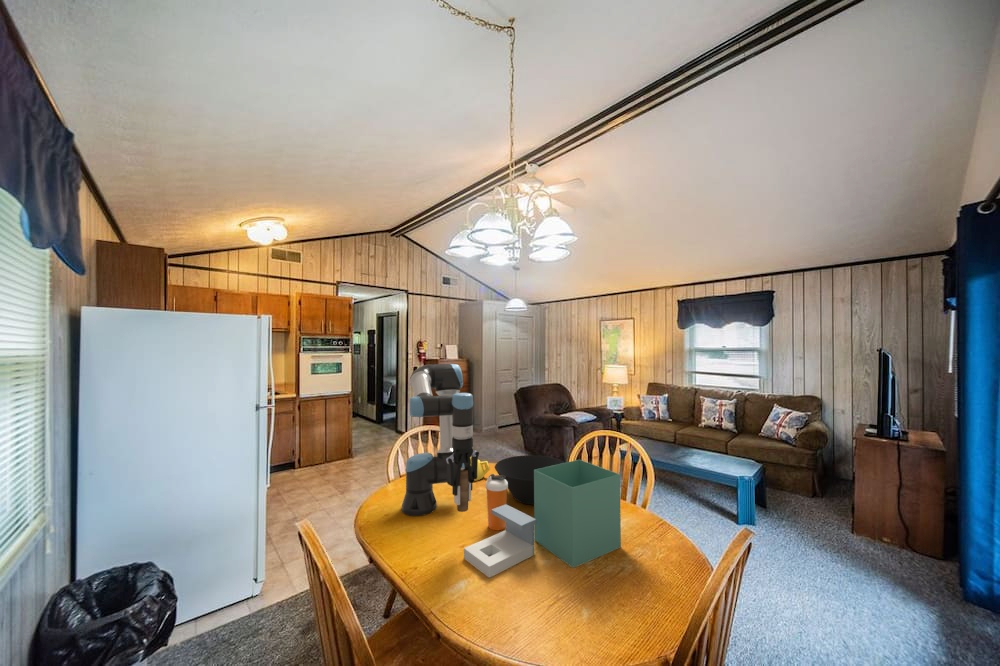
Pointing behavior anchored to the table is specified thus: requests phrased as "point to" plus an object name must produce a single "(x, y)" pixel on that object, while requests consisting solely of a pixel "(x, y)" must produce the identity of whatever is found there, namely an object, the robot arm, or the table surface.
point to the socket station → (504, 543)
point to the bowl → (523, 474)
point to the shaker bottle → (496, 499)
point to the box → (577, 511)
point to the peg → (463, 490)
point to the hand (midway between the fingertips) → (462, 501)
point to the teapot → (481, 469)
